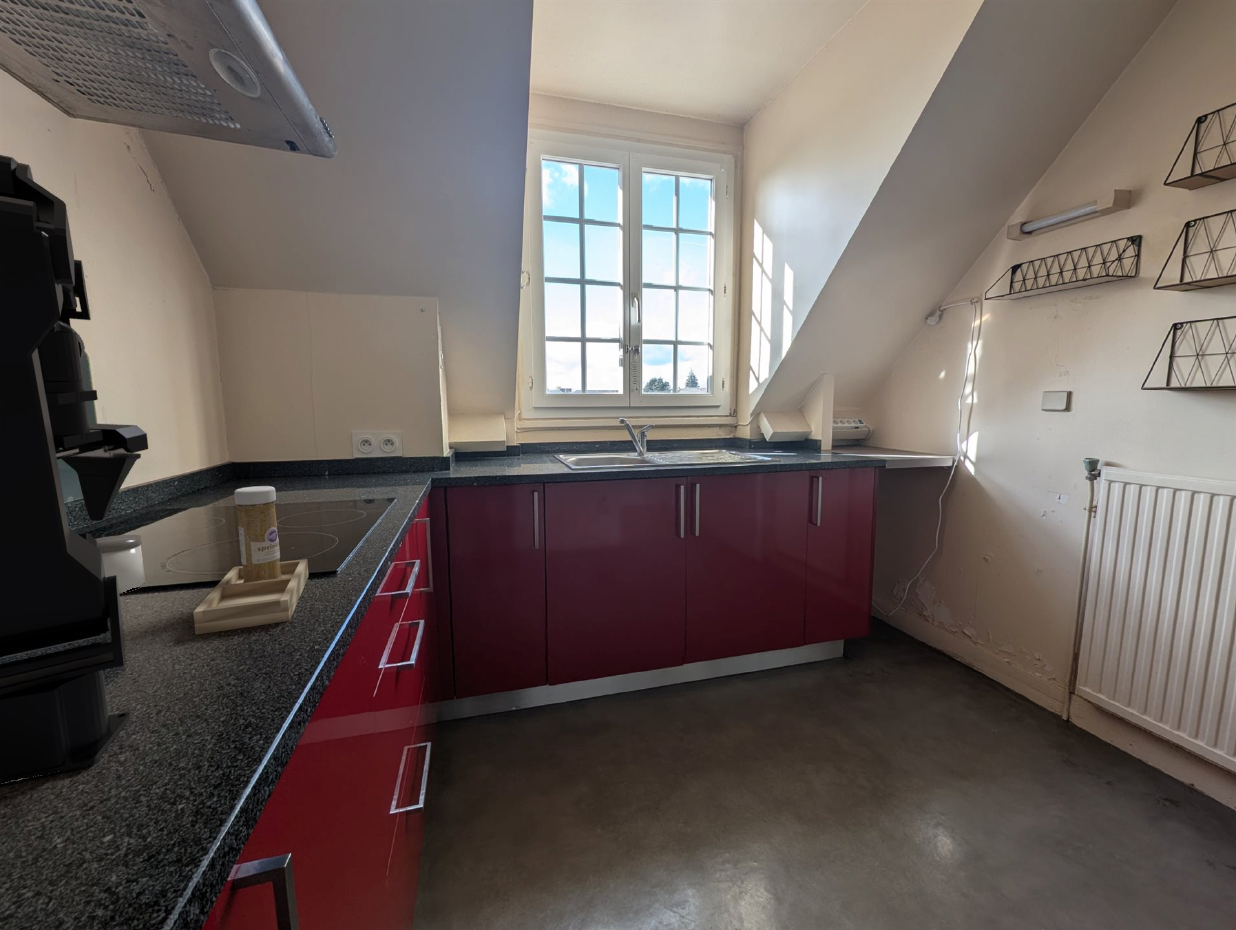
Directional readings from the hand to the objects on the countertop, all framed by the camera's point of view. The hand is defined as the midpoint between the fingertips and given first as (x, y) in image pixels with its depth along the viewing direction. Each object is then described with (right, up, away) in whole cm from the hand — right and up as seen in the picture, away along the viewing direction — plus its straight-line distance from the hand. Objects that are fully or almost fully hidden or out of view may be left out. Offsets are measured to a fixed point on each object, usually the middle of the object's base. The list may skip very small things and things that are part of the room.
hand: (63, 534), depth 52 cm
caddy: (+9, -11, +16) cm, 21 cm away
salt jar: (-15, -10, +21) cm, 27 cm away
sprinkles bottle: (+7, -10, +19) cm, 23 cm away
